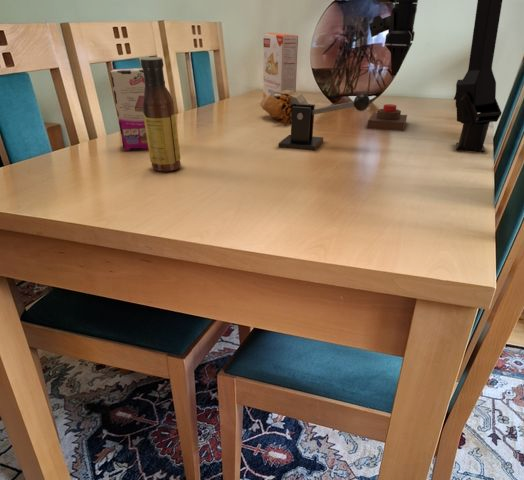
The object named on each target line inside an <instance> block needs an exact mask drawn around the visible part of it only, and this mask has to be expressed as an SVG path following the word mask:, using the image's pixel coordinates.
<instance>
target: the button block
mask: <svg viewBox="0 0 524 480" xmlns="http://www.w3.org/2000/svg"><path fill="white" fill-rule="evenodd" d="M407 120H408V114H402V110H400V109H397V108H396V112H385V111H383V108H379V109H377V112H373V113H372V114H371V115H370V117H369V119H368V121H367V127H366V128H367V129H369V130H371V129H372V130H383V131H384V130H385V131H399V132H404V129H405V127H406V123H407Z"/></svg>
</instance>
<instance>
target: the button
mask: <svg viewBox="0 0 524 480" xmlns="http://www.w3.org/2000/svg"><path fill="white" fill-rule="evenodd" d="M382 109H383V111H385V112H396V109H397V105H396V104H391V103H388V104H386V103H385V104H383V108H382Z"/></svg>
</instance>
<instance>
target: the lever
mask: <svg viewBox="0 0 524 480" xmlns="http://www.w3.org/2000/svg"><path fill="white" fill-rule="evenodd" d="M370 103H371V100H370V96H369V95H367V94H366V93H359V94H357V95H356V96H355V97H354V100H353V101H349V102H343V103H339V104H334V105H329V106H324V107H319V108H315V109H314V110H311V115H314V116H315V115H319V114H325V113H329V112H335V111H339V110H344V109H349V108H354V109H355V110H356V111H358V112H364V111H366V110H367V109H368V108H369V106H370Z"/></svg>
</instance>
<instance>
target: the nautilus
mask: <svg viewBox="0 0 524 480" xmlns="http://www.w3.org/2000/svg"><path fill="white" fill-rule="evenodd" d="M296 104H309V102H308V101H307V99H306V97H305V96H304V95H303V94H302V93H301V92H297V91H296V92H293V91H291V90H288V89H287V90H283V91H279V92H274V93H272V94H270V95H268V96H267V97H265V98H264V99H263V98H262V99H261V101H260V107H261V108H262V110H264V111H265V112H266V113H267V114H268V115H269V116H270V117H271V118H272V119H275V118H276V120H278V119H282V120H281V121H280V122H279V121H278V126H281V125H287V126H289V123H291V119H292V107H293V106H295V107H296ZM279 123H280V124H279Z"/></svg>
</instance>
